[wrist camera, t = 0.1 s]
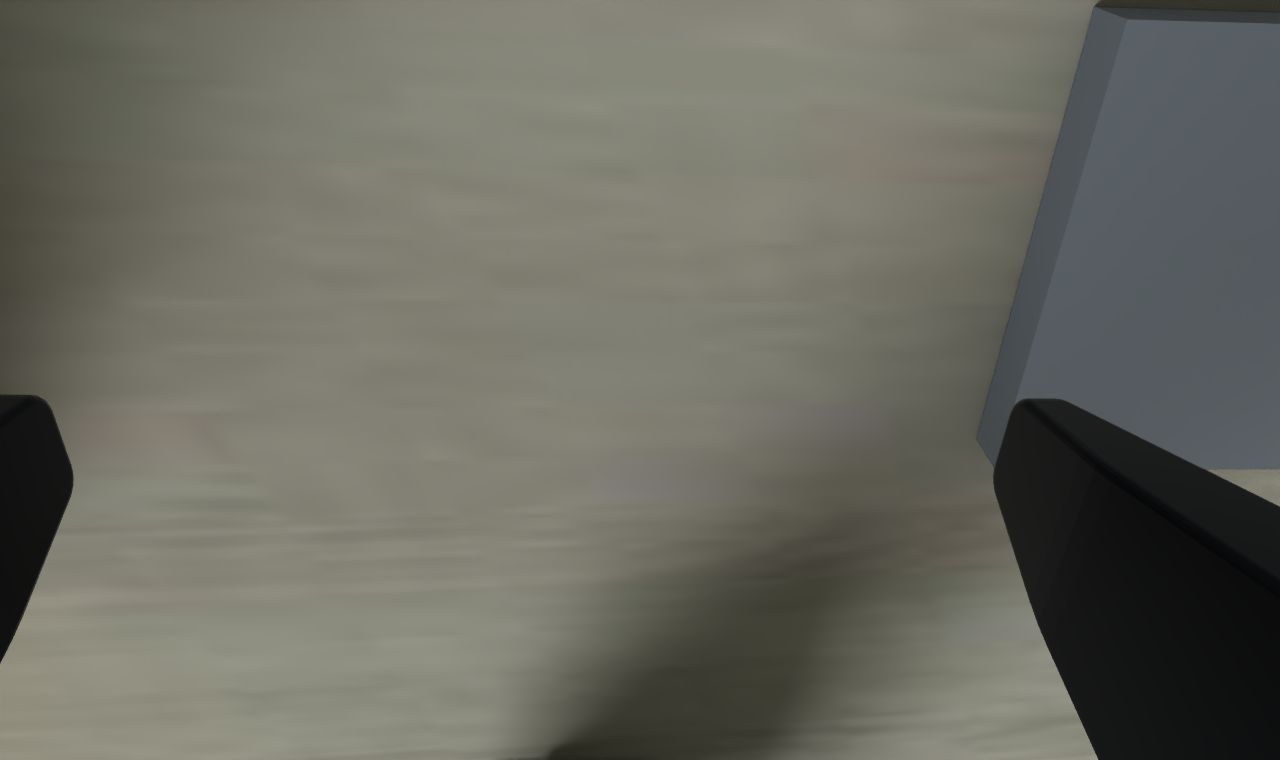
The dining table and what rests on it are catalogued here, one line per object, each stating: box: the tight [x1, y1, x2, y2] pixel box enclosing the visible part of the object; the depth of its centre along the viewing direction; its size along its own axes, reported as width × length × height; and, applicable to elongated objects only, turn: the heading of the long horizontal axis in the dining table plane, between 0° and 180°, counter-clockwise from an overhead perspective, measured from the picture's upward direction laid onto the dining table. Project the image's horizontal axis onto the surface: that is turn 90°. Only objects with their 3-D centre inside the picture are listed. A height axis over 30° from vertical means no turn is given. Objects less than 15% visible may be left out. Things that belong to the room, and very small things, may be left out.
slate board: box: [976, 7, 1280, 469], centre depth 24 cm, size 12×12×2 cm
